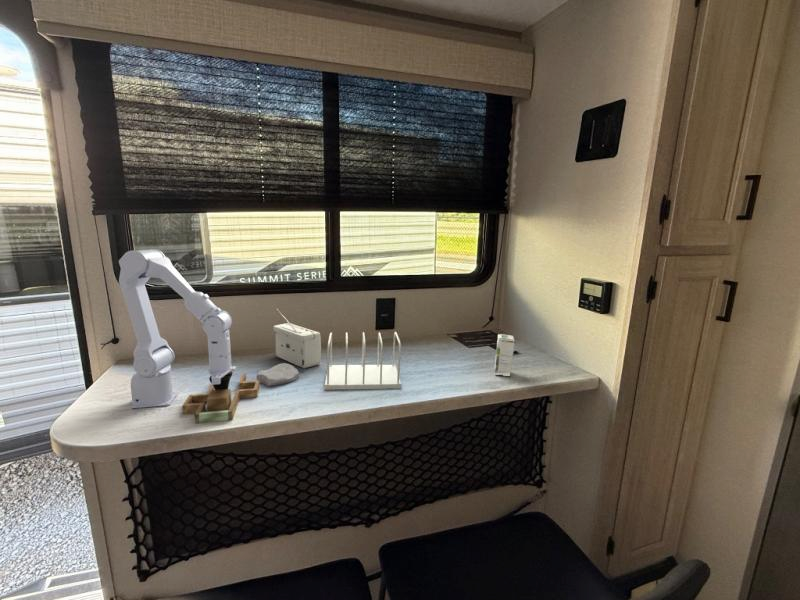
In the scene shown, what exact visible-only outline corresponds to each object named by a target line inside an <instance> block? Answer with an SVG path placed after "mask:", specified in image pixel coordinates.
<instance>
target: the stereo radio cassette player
mask: <svg viewBox="0 0 800 600" xmlns="http://www.w3.org/2000/svg"><path fill="white" fill-rule="evenodd" d="M276 311H278V313H280V316H282V318H283V319H284V320H285V321H286V322H287V323H286V322H285V323H281V324H276V325H275V324H274V326H273V327H272V329H273V331H274V335H275V338H274V339H275V354H276V357H277V358H280V359H282V360H285V361H287V362H289V363H292V364H293V365H295V366H298V367H300V368H303V369H306V368H307V369H308V368H311V367H314V366H317V365H318V364H320V363H321V359H322V357H321V356H322V341H321V340H322V337H321V336H322V335H321V333H320V332H318V331H315V330H312V329H309V328H306V327H303V326H299V325H296V324H294V323H290V322H289V320H288V319H287V318H286V317H285V316H284V315H283V314H282V313H281V312H280V311H279V309H278V308H276Z"/></svg>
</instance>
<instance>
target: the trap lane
mask: <svg viewBox="0 0 800 600" xmlns="http://www.w3.org/2000/svg"><path fill="white" fill-rule="evenodd" d="M260 384H261V383H260V381H258V380H250V381H247V373H242V374H241V377H240V379H239V382H238V389H236V390H235V391H234V395H233V397H232V399H231V405H230V408H229V410H225V411H214V412H208V411H207V398H208V396H209V394H210V392H211V390H215V388H214V386H213V385H212V384H211V385H210V387H209V389H208V390H207V392H206V393H198V394H197V393H196V394H189V395H188V397H187V398H186V399H185V401H184V402H183V404H182V406H181V407H182V409H181V410H182V415H189V414H194V424H205V423H212V422H213V423H214V422H222V421H232V420H234V417H235V414H236V411H237V408H238V406H239V402H240V399H248V398H250V399H251V398H258V396H259V392H260V388H261V386H260Z"/></svg>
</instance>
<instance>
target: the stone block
mask: <svg viewBox="0 0 800 600" xmlns="http://www.w3.org/2000/svg"><path fill="white" fill-rule="evenodd" d="M256 375H257V376H256V381H260V384H263V385H265V386H267V387H274V386H278V385H282V384H287V383H292V382H294V381H296V380H298V379H299V378H300V373H299V370H298V368H296V367H295V366H293V365H291V364H290V363H285V362H283V363H279V364H277V365H274V366H272V367H271V368H268V369H266V370H263V369H261V370H259V371H258V372H257V374H256Z"/></svg>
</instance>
